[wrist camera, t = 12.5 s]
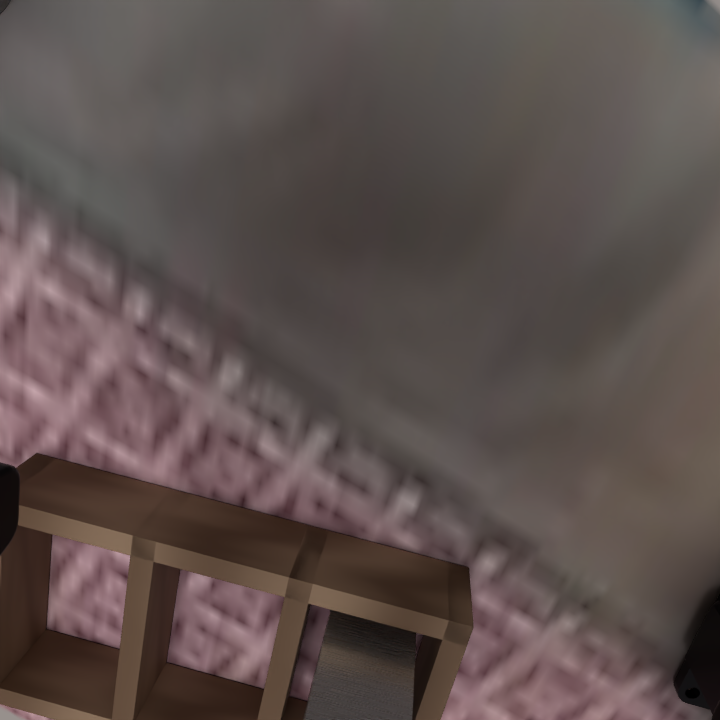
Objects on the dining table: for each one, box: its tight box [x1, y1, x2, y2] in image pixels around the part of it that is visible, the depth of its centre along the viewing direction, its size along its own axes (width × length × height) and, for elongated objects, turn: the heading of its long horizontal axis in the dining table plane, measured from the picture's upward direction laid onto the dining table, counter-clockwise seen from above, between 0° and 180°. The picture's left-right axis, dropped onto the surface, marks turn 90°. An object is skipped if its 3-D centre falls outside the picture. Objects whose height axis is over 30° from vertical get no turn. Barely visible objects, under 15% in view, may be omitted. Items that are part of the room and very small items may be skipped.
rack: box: [0, 453, 473, 720], centre depth 23 cm, size 17×10×3 cm, turn 77°
